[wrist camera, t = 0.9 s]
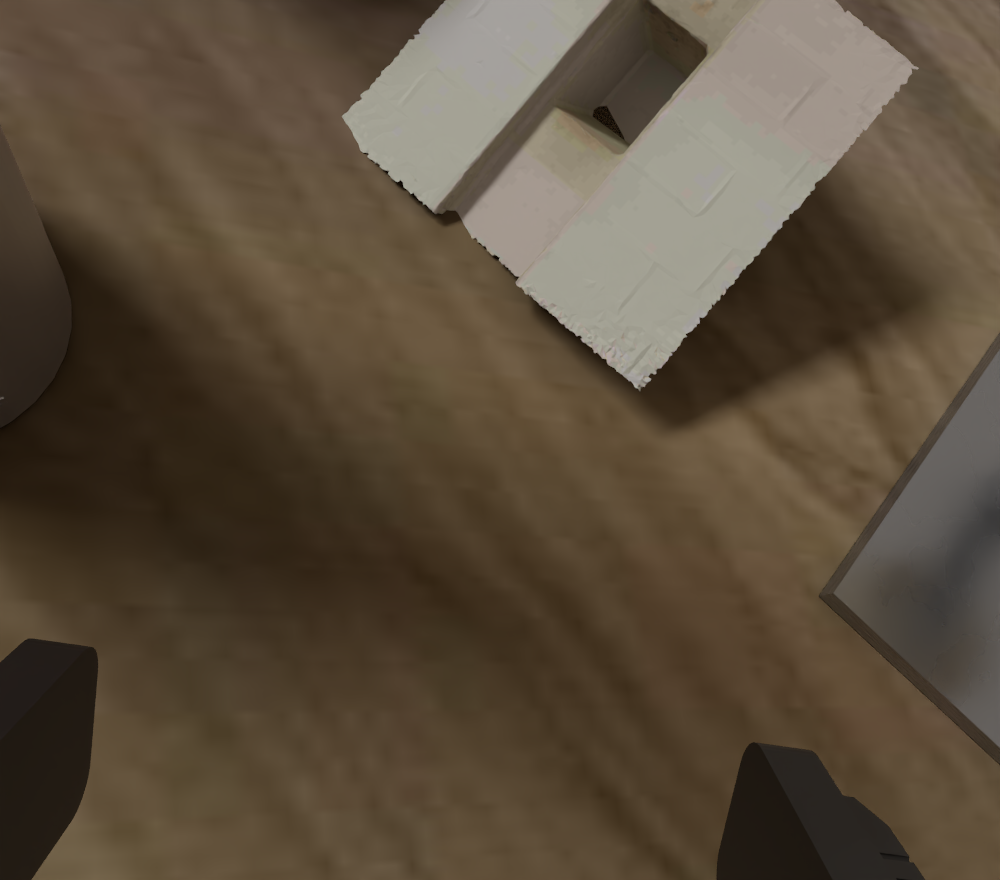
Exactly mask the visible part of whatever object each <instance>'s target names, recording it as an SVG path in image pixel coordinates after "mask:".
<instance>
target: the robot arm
mask: <svg viewBox="0 0 1000 880" xmlns="http://www.w3.org/2000/svg"><path fill="white" fill-rule="evenodd" d="M71 329H72V314H71V299H70V295H69V292H68V288H67V284H66V281H65V277H64V274H63V272H62V270H61V267H60V265H59V263H58V260H57V258H56V256H55V253H54V251H53V249H52V246H51V244H50V241H49V239H48V237H47V234H46V232H45V230H44V227H43V224H42V221H41V219H40V217H39V214H38V212H37V210H36V207H35V205H34V203H33V200H32V198H31V196H30V193H29V191H28V189H27V186H26V184H25V181H24V179H23V177H22V174H21V172H20V170H19V167H18V165H17V163H16V160H15V158H14V156H13V153H12V151H11V149H10V146H9V144H8V142H7V139H6V137H5V135H4V132H3V130H2V128H1V125H0V428H1V427H3V426H5V425H7V424H8V423H10V422H12V421H13V420H14V419H15V418H17V417H18V416H19V415H20V414H21V413H23V412H24V411H25V410H26V409H28V408H29V407H30V406H31V405H32V404H34V403H35V402H36V401H37V399H38V398H39V397H40V396H41V394H42V393H43V392H44V391H45V389H46V388H47V387H48V386H49V384H50V383H51V382H52V381H53V379H54V377H55V375H56V373H57V371H58V369H59V367H60V365H61V363H62V361H63V359H64V357H65V355H66V351H67V347H68V342H69V338H70V334H71ZM97 674H98V657H97V653H96V650H95V649H94V648H93V647H88V646H81V645H74V644H67V643H60V642H53V641H46V640H38V639H27V640H25V641H24V642H22V643H21V644H20V645H19V646H18V647H17V648H16V649H15V650H13V651H12V652H11V653H10V654H9V655H8V656H7V657H6V658H5V659H4V660H2V661H1V662H0V880H31V879H32V878H33V876H34V875H35V873H36V872H37V871H38V869H39V868H40V866H41V865H42V863H43V862H44V860H45V859H46V857H47V856H48V855H49V853H50V852H51V850H52V849H53V847H54V846H55V844H56V843H57V841H58V840H59V839H60V837H61V836H62V834H63V833H64V831H65V830H66V828H67V827H68V825H69V824H70V822H71V821H72V819H73V818H74V816H75V814H76V812H77V809H78V807H79V805H80V802H81V800H82V797H83V794H84V791H85V787H86V784H87V779H88V775H89V769H90V760H91V748H92V736H93V723H94V711H95V699H96V687H97ZM717 880H925V879H924V877H923V876H922V875H921V873H920V872H919V870H918V869H917V867H916V866H915V864H914V863H912V862H909V856H908V854H907V853H906V851H905V850H904V848H903V847H902V845H901V844H900V842H899V841H898V839H897V838H896V837H895V835H894V834H893V832H892V831H891V829H890V828H889V826H888V825H887V824H885V823H884V822H883V821H882V820H880V819H879V818H878V817H877V816H876V815H874V814H873V813H872V812H871V811H870V810H868V809H867V808H866V807H865V806H864V805H862V804H861V803H860V802H859V801H858V800H856V799H855V798H854V797H847V796H843V795H842V794H841V792H840V790H839V789H838V787H837V786H836V784H835V783H834V781H833V780H832V778H831V776H830V775H829V773H828V772H827V770H826V769H825V767H824V766H823V764H822V762H821V761H820V759H819V758H818V756H817V755H816V754H815V753H814V752H813V751H810V750H804V749H797V748H790V747H783V746H776V745H769V744H762V743H755V742H754V743H751V744H749V745H748V747H747V748H746V750H745V752H744V754H743V757H742V760H741V763H740V768H739V772H738V776H737V780H736V784H735V788H734V792H733V796H732V800H731V804H730V808H729V812H728V816H727V821H726V825H725V829H724V833H723V837H722V841H721V845H720V849H719V854H718V861H717Z"/></svg>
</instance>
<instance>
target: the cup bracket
mask: <svg viewBox="0 0 1000 880" xmlns="http://www.w3.org/2000/svg"><path fill="white" fill-rule="evenodd" d="M819 597H820V598H821V599H822V600H823V601H824V602H826V603H827V604H828V605H829V606H830V607H831V608H832V609H833V610H834V611H835V612H836V613H837V614H838V615H840V616H841V617H842V618H843V619H844V620H845V621H846V622H847V623H848V624H849V625H850V626H851V627H852V628H854V629H855V630H856V631H857V632H858V633H859V634H860V635H861V636H862V637H863V638H864V639H865V640H866V641H868V642H869V643H870V644H871V645H872V646H873V647H874V648H875V649H876V650H877V651H878V652H879V653H880V654H882V655H883V656H884V657H885V658H886V659H887V660H888V661H889V662H890V663H891V664H892V665H893V666H894V667H896V668H897V669H898V670H899V671H900V672H901V673H902V674H903V675H904V676H905V677H906V678H907V679H908V680H910V681H911V682H912V683H913V684H914V685H915V686H916V687H917V688H918V689H919V690H920V691H921V692H922V693H924V694H925V695H926V696H927V697H928V698H929V699H930V700H931V701H932V702H933V703H934V704H935V705H936V706H937V707H939V708H940V709H941V710H942V711H943V712H944V713H945V714H946V715H947V716H948V717H949V718H950V719H951V720H953V721H954V722H955V723H956V724H957V725H958V726H959V727H960V728H961V729H962V730H963V731H964V732H965V733H967V734H968V735H969V736H970V737H971V738H972V739H973V740H974V741H975V742H976V743H977V744H978V745H979V746H981V747H982V748H983V749H984V750H985V751H986V752H987V753H988V754H989V755H990V756H991V757H992V758H993V759H995V760H996V761H997V762H998V763H999V764H1000V333H999V335H998V336H997V338H996V339H995V341H994V342H993V344H992V345H991V346H990V348H989V349H988V351H987V352H986V354H985V355H984V357H983V358H982V360H981V361H980V362H979V364H978V365H977V367H976V368H975V370H974V371H973V373H972V374H971V376H970V377H969V378H968V380H967V381H966V383H965V384H964V386H963V387H962V389H961V390H960V391H959V393H958V394H957V396H956V397H955V399H954V400H953V402H952V403H951V405H950V406H949V407H948V409H947V410H946V412H945V413H944V415H943V416H942V418H941V419H940V421H939V422H938V423H937V425H936V426H935V428H934V429H933V431H932V432H931V434H930V435H929V437H928V438H927V439H926V441H925V442H924V444H923V445H922V447H921V448H920V450H919V451H918V453H917V454H916V455H915V457H914V458H913V460H912V461H911V463H910V464H909V466H908V467H907V468H906V470H905V471H904V473H903V474H902V476H901V477H900V479H899V480H898V482H897V483H896V484H895V486H894V487H893V489H892V490H891V492H890V493H889V495H888V496H887V498H886V499H885V500H884V502H883V503H882V505H881V506H880V508H879V509H878V511H877V512H876V514H875V515H874V516H873V518H872V519H871V521H870V522H869V524H868V525H867V527H866V528H865V530H864V531H863V532H862V534H861V535H860V537H859V538H858V540H857V541H856V543H855V544H854V546H853V547H852V548H851V550H850V551H849V553H848V554H847V556H846V557H845V559H844V560H843V561H842V563H841V564H840V566H839V567H838V569H837V570H836V572H835V573H834V575H833V576H832V577H831V579H830V580H829V582H828V583H827V585H826V586H825V588H824V589H823V591H822V592H821V593H820V595H819Z"/></svg>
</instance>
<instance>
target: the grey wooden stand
mask: <svg viewBox="0 0 1000 880" xmlns="http://www.w3.org/2000/svg"><path fill="white" fill-rule="evenodd" d="M419 33H420V34H418V35H414V37H415V38H414V40H412V39H409V40H408V43H407V44H406V45H405V47H404V48H403V49H401V50H400V53H399V56H397V57H395V58H394V60H393V62H392V63H391V64H390V65H389V66H387V67H386V68H385V69H384V70H383V71H381V76H380V77H378V78H377V79H376V82H374V83H373V84H371V86H370V89H369V90H367V91H365V92H363V93H362V94H361V95H360V96H361V97H362V99H361V100H360V101H355V102H356V103H355V104H354V105H352V107H351V108H350V109H349V111H348V112H347V113H345V114H344V115H343V116H342V117H343V119H344V121H345V122H346V124H347V125H348V126H349V128H350V129H351V131H352V132H353V135H354V138H355V139H356V141H357V142H358V144H359V147H360V151H361V152H363V153H368V154H369V155H368V156H367V157H368V158H369V159H370V160H373V161H374V162H375V164H376V163H378V164H379V165H380V166H379V167H381V168H382V169H383V170H386V171H389V172H388V175H389V176H391V178H392V179H393V180H394V181H396V182H399V181H400V180H401V181H402V182H403V187H404V188H405V189H407V190H408V191H409V192H410V194H412V193H414V195H415V196H417V198H418V200H419V201H422V202H423V205H424V204H426V205H427V207H428V208H429V209H430V210H432V212H434V213H435V214H437V213H439V214H443V213H444V212H445V211H446V210H449V211H454V210H455V211H456V212H458V214H459V216H460V218H461V219H462V221H463V223H464V225H465V227H466V228H467V230H468V232H469V233H470V235H471V237H472V238H473V239H474V238H476V239H477V240H478V242H479V243H481V244H482V246H486V248H487V251H489V253H490V254H491V255H494V254H495V255H496V256H497V257H500V258H499V261H501V263H502V264H505V267H508V268H509V270H511V273H513V274H514V275H515V276H519V278H518V279H517V281H516V285H517V286H519V287H522V289H523V290H524V293H525V294H526V295H527V294H529V296H530V295H531V297H532V298H533V299H534V300H535V301H537V302H538V303H539V305H540V306H542V307H543V308H545V309H547V310H548V311H549V313H551V314H552V316H555V317H556V318H557V319H558V321H559V322H560V323H561V324H564V325H565V327H566V328H568V329H569V331H573V332H574V333H575V335H576V336H580V335H581V337H582V339H581V340H582V342H583V343H586V344H587V345H588V346H590V347H592V349H593V350H594V353H598V354H599V355H600V356H601V358H602V359H607V364H608V365H609V366H611V367H613V368H615V369H616V371H617V372H619V373H620V374H622V375H623V376H624V377H625V378H627V380H628V381H631V382H632V383H633V385H634V387H635V388H637V389H639V391H640V390H641V387H645V385H646V384H647V383H648V382H649V381H651V378H649V377H648V376H649V375H650V373H652V374H657V373H656V370H657V369H658V368H662V366H663V365H664V364H665V363H666V362H667V361H668V359H669V356H672V353H671V352H675V351H676V350H677V347H678V346H680V345H681V341H682V340H683V338H685V337H687V336H686V334H687V333H689V332H691V331H693V329H694V327H697V325H696V324H700V318H699V317H701V318H704V317H705V316H706V315H707V313H708V311H709V310H710V309H711V308H712V304H713V305H714V304H715V303H716V300H718V301H719V300H720V298H721V297H720V296H721V295H723V296H724V294H725V293H726V289H728V287H730V286H731V285H733V284H734V283H735V279H737V278H739V274H740V273H741V272H742V270H743V269H746V266H747V265H749V264H751V262H752V261H753V260H754V258H753V257H755V256H757V255H759V254H760V251H761V249H762V248H765V247H766V245H767V243H768V242H769V241H771V239H772V236H773V235H774V234H775V233H776V232H777V230H779V229H781V228H782V227H783V226H782V223H783V222H784V221H785V220H788V219H789V214H793V212H794V210H797V209H798V208H800V207H801V205H802V203H803V201H804V200H805V199H806V197H807V196H808V195H811V194H810V191H813V190H814V189H815V183H816V182H817V181H819V180H821V179H822V178H823V176H826V175H827V173H828V172H829V171H830V170H831V169H832V167H833V166H834V165H836V163H837V160H839V159H840V158H841V157H843V154H844V152H846V151H849V150H848V148H850V145H853V143H854V142H855V141H856V138H857V136H860V135H858V134H860V133H862V130H863V129H864V130H865V131H866V130H867V128H868V127H869V126H870V123H872V122H873V120H874V119H875V118H876V117H877V115H878V114H880V113H881V112H882V108H881V106H883V105H887V103H888V101H889V99H891V98H894V93H895V91H897V92H899V89H900V84H905V83H907V80H908V77H909V76H910V75H911V74H912V70H911V68H912V69H917V70H918V69H919V68H918V67H915V66H913V65H912V64H911V62H910V61H909V60H908V59H907V58H906V57H904V56H903V55H902V54H901V53H899V52H898V51H896V50H895V49H894V47H892V46H890V45H889V43H888V42H887V41H885V40H883V39H881V38H880V37H879V36H877V35H875V33H874V32H873V31H871V30H869V28H868V27H866V26H863V23H862V22H861V21H860V20H859V19H858V18H856V17H855V16H853V15H851V13H850V12H849V11H847V12H846V13H845V12H844V11H843V9H842V7H841V6H840V5H839V4H838V3H837V2H836V1H835V0H445V1H444V3H443V4H441V5H440V7H439V9H438V10H436V11H435V14H432V17H431V18H428V19H427V20H426V21H425V24H423V25H422V27H421V28H420V29H419ZM599 106H607V107H608V109H609V111H610V113H611V115H612V116H613V118H614V120H615V122H616V124H617V125H618V127H619V129H620V131H621V133H622V135H623V137H624V139H622V138H621V137H620V136H618V135H617V134H616V133H614V132H613V131H611V130H610V129H609V128H607V127H606V126H605V125H603V124H602V123H601V122H599V121H598V120H597V119H595V118H594V117H593V112H594V110H595V109H596V108H597V107H599ZM711 303H712V304H711ZM714 306H715V305H714Z"/></svg>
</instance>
